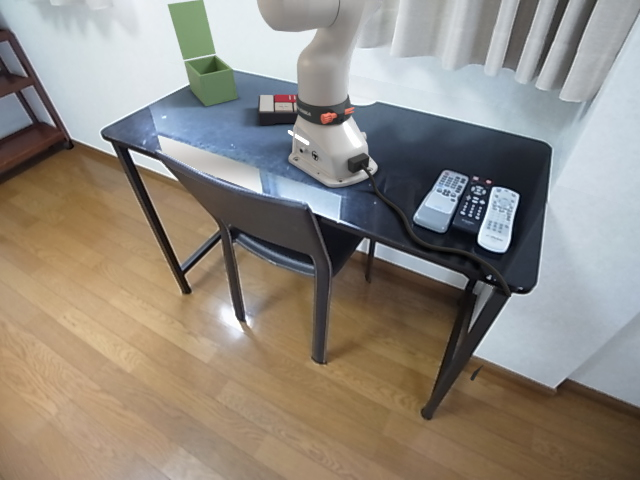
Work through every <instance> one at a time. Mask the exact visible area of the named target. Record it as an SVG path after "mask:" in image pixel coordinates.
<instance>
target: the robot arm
mask: <svg viewBox="0 0 640 480" xmlns="http://www.w3.org/2000/svg"><path fill="white" fill-rule="evenodd" d="M383 2H384V0H256V5H257V9H258V11H259V13H260V15H261V17H262V19H263V20H264V22H265V23H266V24H267V26H268V27H269V28H270V29H272V30H273V31H276V32H283V33H284V32H285V33H301V32H305V31H306V32H307V31H312V30H313V31H314V30H316V32H315V34H314V36H313V37H312V39H311V41H310V42H309V43H308V45H306V47H304V48H303V49H302V51H300V53H299V55H298V58H297V61H296V75H297V76H296V79H297V94H296V95H297V96H296V107H297V113H298V117H297V120H296V123H294V125H293V127H292V130H291V129H290V130H287V133H288V134H289V135H291V136H292V148H291V149H292V150H291V151H292V152H291V153H290V154H289V155H288V162H289V163H290V164H292V166H295V167H296V168H298V169H299V170H300V171H302V172H304V173H305V174H307V175H309V176H310V177H312V178H313V179H315V180H317V181H318V182H320V184H323V185H325V186H326V187H328V188H343V187H347V186H351V185H355V184H357V183H360V182H363V181H366V180H367V179H369V180H370V182H371V186H372V189H373V191H374V193H375V194H376V196H377V197H378V198H380V199H381V200H382V202H385V204H387V205H388V206H389V207H391V208H392V209H394V210H395V211H396V212H397V213H398V214H399V215H400V217H401V220H402V221H403V223H404V226H405V229H406V230H407V233H408V234H409V236H410V237H411V238H412V240H414V241H415V242H416V243H418V244H419V245H421V246H422V247H424V248H427V249H430V250H434V251H438V252H439V251H440V252H446V253H453V254H454V253H455V254H459V255H463V256H465V257H468V258H470V259H471V260H474V261H475V262H478V263H479V264H481V265H482V266H484V267H485V268H487V270H489V271H490V272H491V273H492V274H493V275H494V277H495V278H496V279H497V280H498V282H499V284H500V285H501V286H502V288H503V292H504V294H505V296H506V297H508V298H511V297H512V293H511V290H510V288H509V286H508V283H507V282H506V280H505V278H504V277H503V275H502V274H501V272H499V271H498V270H497V269H496V268H495V267H494V266H492V265H491V264H490V263H489V262H487V261H486V260H484V259H482V258H481V257H479V256H477V255H476V254H474V253H471V252H469V251H466V250H465V249H464V250H463V249H459V248H454V247H448V246H446V247H445V246H439V245H434V244H432V243H431V244H430V243H428V242H426V241H424V240H422V239H421V238H419V237H418V236H417V235H416V233H414V231H413V230H412V228H411V227H412V226H411V225H410V222H409V220H408V218H407V216H406V214H405V212H403V210H402V209H401V208H400V207H398V206H397V205H396V204H395V203H394V202H391V201H390V200H389V199H388V198H386V197H385V196H383V194H382V193H381V192H380V191H379V189H378V188H377V184H376V180H375V178H374V174H376V172H377V171H378V164H377V163H376V161H375V160H374V159H373V158H372V157H371V156H370V155H369V146H368V143H367V133H366V132H365V131H361V130H360V128H359V126H358V124H357V123H356V120H355V119H354V117H353V113H355V111H354V109H355V107H354V106H353V107H352V103H351V100H350V99H351V98H350V94H349V80H350V70H351V63H352V57H353V54H354V51H355V48H356V45H357V43H358V40H359V38H360V36H361V34H362V32H363V30H364V28H365V27H366V25H367V23H368V22H369V21H370V20H371V18H373V16H374V15H375V14H376V13H377V12H378V11H379V9H380V8H381V6H382V4H383ZM483 367H484V364H482V365H481V366H480V367H478V368H477V369H476V370H474V371H473V372H472V374H471V376H470V378H469V380H470V381H472V382H474V381H475V379H476V377H477V376H478V375H479V373H480V371H481V370H482V368H483Z"/></svg>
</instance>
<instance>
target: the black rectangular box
mask: <svg viewBox="0 0 640 480" xmlns="http://www.w3.org/2000/svg"><path fill="white" fill-rule="evenodd" d="M296 96H297V94H274V95H273V94H260V95H258V101H257V102H258V105H257V119H258V125H259V126H273V125H275V124H295V123H296V120H297V117H298V113H297V107H296Z"/></svg>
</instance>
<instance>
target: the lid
mask: <svg viewBox="0 0 640 480" xmlns="http://www.w3.org/2000/svg"><path fill="white" fill-rule="evenodd" d="M167 8H168V12H169V15H170V18H171V21H172V26H173V29H174V32H175V35H176V39H177V43H178V47H179V49H180V53H181V57H182V60H183V61H187V60H192V59H197V58H202V57H207V56H212V55H216V52H217V51H216V48H215V45H214V40H213V35H212V32H211V27H210V22H209V19H208V14H207V10H206V6H205V1H204V0H189V1H188V0H187V1H182V2H181V1H180V2H173V3H168V4H167Z"/></svg>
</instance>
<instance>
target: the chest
mask: <svg viewBox="0 0 640 480" xmlns="http://www.w3.org/2000/svg"><path fill="white" fill-rule="evenodd" d="M183 63H184V67H185V71H186V75H187V79H188V84H189V88H190V91H191V92H192V93H193V94H194V96H196V98H197V99H198V100H199V101H200V102H201V103H202V104H203V105H204V106H205V107H210V106H214V105H218V104H221V103H226V102H230V101H234V100H238V93H237V86H236V80H235V75H234V68H232V67H231V66H230V65H229V64H227V63H226V62H224V61H223V60H222V59H221V58H220V57H219V56H218V55H216V54H213V55H208V56H203V57H198V58H193V59H188V60H183Z"/></svg>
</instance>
